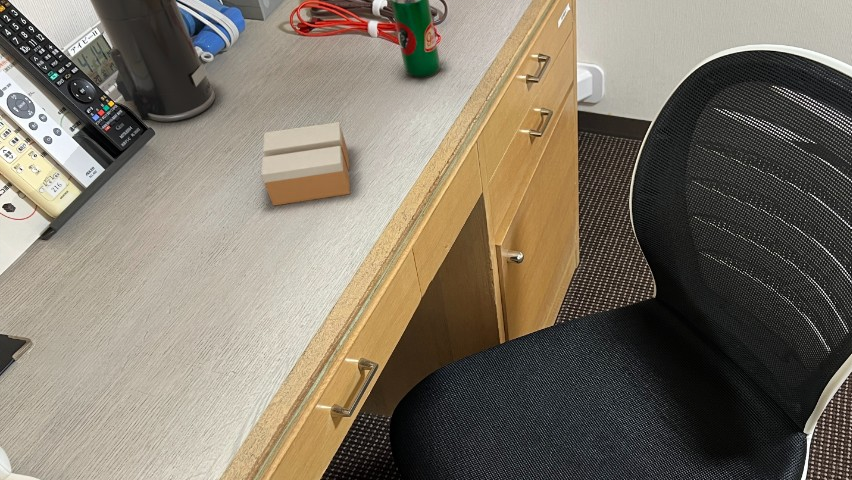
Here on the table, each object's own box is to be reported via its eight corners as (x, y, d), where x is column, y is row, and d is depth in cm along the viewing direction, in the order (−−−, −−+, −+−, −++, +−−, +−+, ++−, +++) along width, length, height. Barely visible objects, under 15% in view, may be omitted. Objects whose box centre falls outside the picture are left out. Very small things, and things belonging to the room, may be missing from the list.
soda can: (438, 79, 117) (423, -5, 108) (403, 80, 117) (385, -3, 108) (442, 61, 120) (428, -21, 111) (408, 62, 120) (391, -20, 111)
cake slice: (273, 205, 98) (261, 174, 94) (274, 188, 100) (262, 156, 97) (350, 193, 99) (340, 162, 96) (349, 176, 101) (340, 145, 98)
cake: (274, 181, 101) (262, 150, 98) (275, 163, 103) (264, 132, 100) (349, 170, 102) (339, 139, 99) (348, 152, 105) (339, 121, 101)
